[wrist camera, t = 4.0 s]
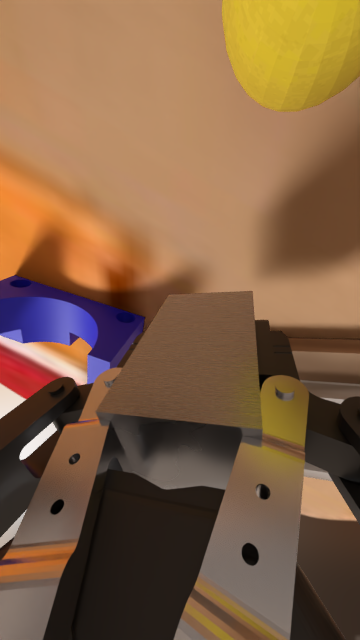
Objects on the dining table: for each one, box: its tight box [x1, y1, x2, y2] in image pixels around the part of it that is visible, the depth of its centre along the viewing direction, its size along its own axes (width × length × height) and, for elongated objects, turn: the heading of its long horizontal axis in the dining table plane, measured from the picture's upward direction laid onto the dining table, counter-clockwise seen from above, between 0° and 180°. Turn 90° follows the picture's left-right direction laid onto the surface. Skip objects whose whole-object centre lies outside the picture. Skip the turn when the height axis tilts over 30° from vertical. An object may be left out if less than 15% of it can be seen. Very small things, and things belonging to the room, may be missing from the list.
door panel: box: [288, 338, 360, 481], centre depth 19 cm, size 14×16×3 cm
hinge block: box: [95, 291, 263, 490], centre depth 9 cm, size 4×4×7 cm
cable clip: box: [0, 275, 145, 384], centre depth 19 cm, size 12×4×6 cm, turn 77°
